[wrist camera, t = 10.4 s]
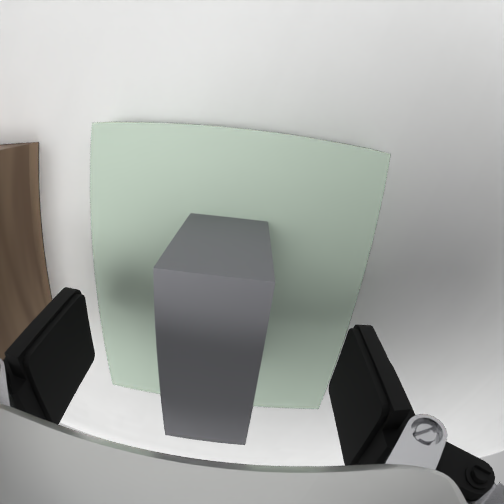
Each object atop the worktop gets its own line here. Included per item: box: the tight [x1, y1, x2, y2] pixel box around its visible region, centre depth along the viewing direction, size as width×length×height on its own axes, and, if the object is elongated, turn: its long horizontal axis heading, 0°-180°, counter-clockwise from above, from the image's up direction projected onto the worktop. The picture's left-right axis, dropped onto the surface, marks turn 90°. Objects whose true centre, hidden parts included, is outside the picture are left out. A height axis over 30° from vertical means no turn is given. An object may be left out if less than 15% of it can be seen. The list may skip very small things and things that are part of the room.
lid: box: [90, 122, 391, 445], centre depth 12 cm, size 12×14×7 cm
